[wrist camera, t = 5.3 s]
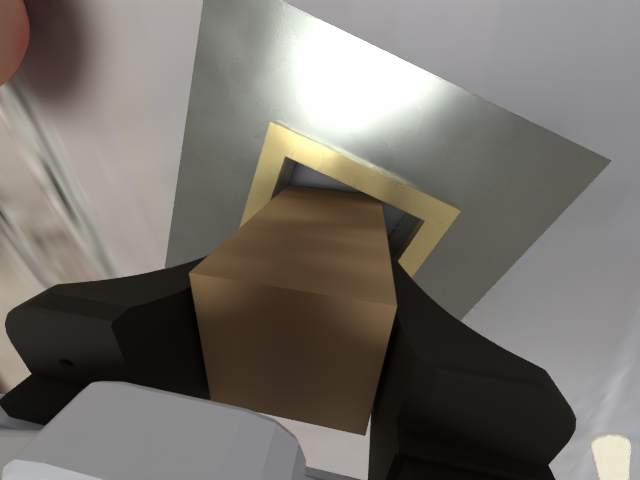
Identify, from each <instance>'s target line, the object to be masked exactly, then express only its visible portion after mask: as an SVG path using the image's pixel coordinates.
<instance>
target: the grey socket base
mask: <svg viewBox="0 0 640 480" xmlns="http://www.w3.org/2000/svg"><path fill="white" fill-rule="evenodd" d="M296 162H299V163H301V164H303V165H306V166H308V167H310V168H312V169H314V170H316V171H319V172H321V173H323V174H325V175H327V176H329V177H331V178H334V179H336V180H338V181H340V182H342V183H344V184H347V185H349V186H351V187H353V188H355V189H357V190H360V191H362V192H364V193H366V194H368V195H370V196H373V197H375V198H377V199H379V200H381V201H383V202H385V203H388V204H390V205H392V206H394V207H396V208H398V209H401V210H403V211H405V212H406V213H405V215H404V217H403V218H402V220H401V221H400V223H399V225H398V226H397V228H396V229H395V231H394V233H393V234H392V236H391V237H390V239H389V241H388V246H389V253H392V254H393V256H394V257H395V258H396V259H397V261H398V262H399V263H400V265H401V266H402V267H403V268H404V270H405V271H406V272H407V273H408V275H409V276H410V277H411V278H412V279H413V280H414V281H415V282H416V284H417V285H418V286H419V287H420V288H421V289H422V290H423V291H424V292H425V293H426V294H427V295H428V296H429V297H430V298H432V299H433V300H434V301H435V302H436V303H437V304H439V305H440V306H441V307H442V308H443V309H444V310H446V311H447V312H448V313H450V314H451V315H452V316H453V317H455V318H456V319H458V320H459V321H460V320H461V319H462V318H463V317H464V316H465V315H466V314H467V313H468V312H469V311H470V310H471V308H472V307H473V306H474V305H475V304H476V303H477V302H478V301H479V300H480V299H481V298H482V297H483V296H484V295H485V294H486V293H487V292H488V291H489V290H490V288H491V287H492V286H493V285H494V284H495V283H496V282H497V281H498V280H499V279H500V278H501V277H502V276H503V275H504V274H505V273H506V272H507V271H508V269H509V268H510V267H511V266H512V265H513V264H514V263H515V262H516V261H517V260H518V259H519V258H520V257H521V256H522V255H523V254H524V253H525V252H526V251H527V249H528V248H529V247H530V246H531V245H532V244H533V243H534V242H535V241H536V240H537V239H538V238H539V237H540V236H541V235H542V234H543V233H544V232H545V230H546V229H547V228H548V227H549V226H550V225H551V224H552V223H553V222H554V221H555V220H556V219H557V218H558V217H559V216H560V215H561V214H562V213H563V212H564V210H565V209H566V208H567V207H568V206H569V205H570V204H571V203H572V202H573V201H574V200H575V199H576V198H577V197H578V196H579V195H580V194H581V193H582V191H583V190H584V189H585V188H586V187H587V186H588V185H589V184H590V183H591V182H592V181H593V180H594V179H595V178H596V177H597V176H598V175H599V174H600V173H601V171H602V170H603V169H604V168H605V167H606V166H607V165H608V164H609V163H610V162H611V160H609V159H607V158H605V157H603V156H601V155H599V154H596V153H594V152H592V151H590V150H588V149H586V148H584V147H582V146H580V145H578V144H576V143H574V142H572V141H570V140H568V139H565V138H563V137H561V136H559V135H557V134H555V133H553V132H551V131H549V130H547V129H545V128H543V127H541V126H539V125H537V124H534V123H532V122H530V121H528V120H526V119H524V118H522V117H520V116H518V115H516V114H514V113H512V112H510V111H508V110H506V109H503V108H501V107H499V106H497V105H495V104H493V103H491V102H489V101H487V100H485V99H483V98H481V97H479V96H477V95H475V94H472V93H470V92H468V91H466V90H464V89H462V88H460V87H458V86H456V85H454V84H452V83H450V82H448V81H446V80H443V79H441V78H439V77H437V76H435V75H433V74H431V73H429V72H427V71H425V70H423V69H421V68H419V67H417V66H415V65H412V64H410V63H408V62H406V61H404V60H402V59H400V58H398V57H396V56H394V55H392V54H390V53H388V52H386V51H384V50H381V49H379V48H377V47H375V46H373V45H371V44H369V43H367V42H365V41H363V40H361V39H359V38H357V37H355V36H353V35H350V34H348V33H346V32H344V31H342V30H340V29H338V28H336V27H334V26H332V25H330V24H328V23H326V22H324V21H322V20H319V19H317V18H315V17H313V16H311V15H309V14H307V13H305V12H303V11H301V10H299V9H297V8H295V7H293V6H291V5H288V4H286V3H284V2H282V1H280V0H203V7H202V14H201V21H200V28H199V35H198V42H197V49H196V56H195V63H194V70H193V77H192V84H191V90H190V97H189V104H188V111H187V118H186V125H185V132H184V139H183V146H182V153H181V160H180V167H179V174H178V181H177V188H176V194H175V201H174V208H173V215H172V222H171V229H170V236H169V243H168V250H167V257H166V264H165V269H166V268H171V267H174V266H178V265H181V264H184V263H188V262H191V261H194V260H197V259H200V258H202V257H205V256H207V255H210V254H211V253H212V252H213V251H214V250H215V249H217V248H218V247H219V246H220V245H221V244H222V243H223V242H224V241H226V240H227V239H228V238H229V237H230V236H231V235H232V234H234V233H235V232H236V231H237V230H238V229H239V228H240V227H241V226H243V225H244V224H245V223H246V222H247V221H248V220H249V219H251V218H252V217H253V216H254V215H255V214H256V213H257V212H258V211H260V210H261V209H262V208H263V207H264V206H265V205H266V204H268V203H269V202H270V201H271V200H272V199H273V198H274V197H275V196H277V195H278V194H279V193H280V192H281V191H282V190H283V189H285V188H286V187H287V186H288V184H289V181H290V178H291V176H292V173H293V170H294V167H295V165H296Z"/></svg>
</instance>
